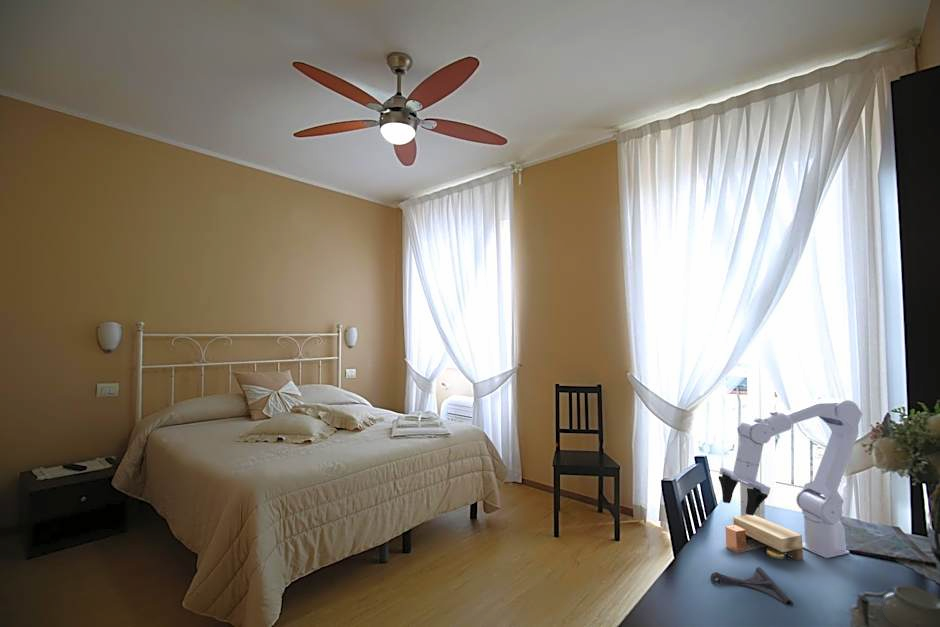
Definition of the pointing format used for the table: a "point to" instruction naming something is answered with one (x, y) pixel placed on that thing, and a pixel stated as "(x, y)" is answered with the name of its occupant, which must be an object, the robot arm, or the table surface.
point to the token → (774, 553)
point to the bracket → (755, 584)
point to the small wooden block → (740, 540)
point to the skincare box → (743, 493)
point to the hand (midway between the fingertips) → (737, 508)
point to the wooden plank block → (771, 535)
